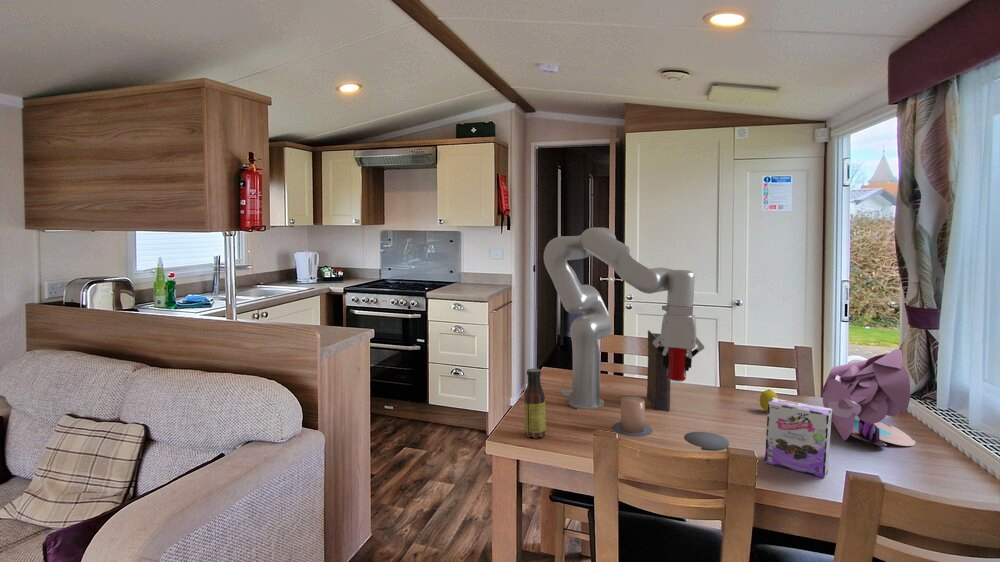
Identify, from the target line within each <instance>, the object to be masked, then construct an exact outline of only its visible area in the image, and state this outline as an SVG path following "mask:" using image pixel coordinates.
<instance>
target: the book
mask: <svg viewBox="0 0 1000 562" xmlns="http://www.w3.org/2000/svg"><path fill="white" fill-rule="evenodd" d="M660 335H661V333H657V332H656V333H653V332H651V330H647V378H646V379H647V385H646V397H647V400H648V401H649V402H650V404H651V405H652V409H653V410H654V411H660V412H670V409H671V383H672V382H671V380H669V379H668V377H667V369H668V368H667V369H665V365H663V355H662V353H661V352H660V351H659V350H658V348H657V347H656V346H654V345H653V341H654V340H655V339H656V338H657V337H658V336H660ZM659 344H660V345H661V343H660V341H659ZM661 346H662V345H661ZM662 347H663V346H662ZM663 348H665V347H663Z"/></svg>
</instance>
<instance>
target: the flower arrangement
mask: <svg viewBox="0 0 1000 562" xmlns="http://www.w3.org/2000/svg"><path fill="white" fill-rule="evenodd" d="M902 362H903V351H902V349H899V348H895V349H894V350H891V351H890V352H887V353H883V354H878V355H875V356H873V357H870V358H867V359H864V360H861V361H860V360H859V361H855V362H851V363H846V364H843V365H838V366H833V367H832V368H831V369H830V371H829V374H828V376H827V378H826V381H825V382H824V385H823V388H822V389H821V393H820V394H821V396H822V405H823V407H824V408H831V409H832V417H831V422H833V424H834V426H835V428H836V430H837V431H838V433H839V435H840V436H841V438H842V440H843V441H844V442H845V441H847V440H848V438H849V437H850V436H852V437H853V438H856V439H858V440H861V441H864V442H867V443H870V444H873V445H876V446H879V447H883V446H887V444H886V443H889V444H893V445H897V446H903V447H912V446H915V445H916V440H915V439H914V440H913V439H912V438H911V437H910V435H909V434H907V433H906V432H904V431H902V430H900V429H899V428H897V427H894V426H893V425H890V426H888V425H887V424H885V423H883V422H881V421H883V420H884V419H885V418H886V417H887V416H888V417H896V416H898V415H899V414H900V412H901V413H902V415H905V413H906V412H907V410H908V407H909V404H910V400H911V381H910V377H909V373H908V371H907V370H906V368H905V366H903V365H902V364H903V363H902Z"/></svg>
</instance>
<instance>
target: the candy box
mask: <svg viewBox="0 0 1000 562" xmlns="http://www.w3.org/2000/svg"><path fill="white" fill-rule="evenodd" d="M831 417H832V409H831V408H825V407H824V406H823V407H822V406H819V405H812V404H811V405H810V404H806V403H802V402H796V401H791V400H785V399H781V398H778V399H777V398H772V400H771V401H770V402H769V403H768V412H767V418H766V435H765V452H764V453H765V455H764V463H766V464H769V465H774V466H778V467H781V468H784V467H785V469H788V470H793V471H796V472H799V471H800V473H804V474H806V475H807V474H808V475H811V476H815V477H820V478H825V477H826V475H827V474H828V471H829V457H830V447H831V446H830V443H831V430H832V429H831V427H832V419H831Z"/></svg>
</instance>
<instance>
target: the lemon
mask: <svg viewBox="0 0 1000 562" xmlns="http://www.w3.org/2000/svg"><path fill="white" fill-rule="evenodd" d="M772 398H777V399H779V396H778V395H777V393H776V392H775V391H773V390H772V389H770V388H769V389H768V388H767V389H766V390H764V391H762V392H761V394H760V396H759V405H760V407H761V408H762V410H764V411H765V412H766V413H768V403H769V402H770V401H771V400H772Z"/></svg>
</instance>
